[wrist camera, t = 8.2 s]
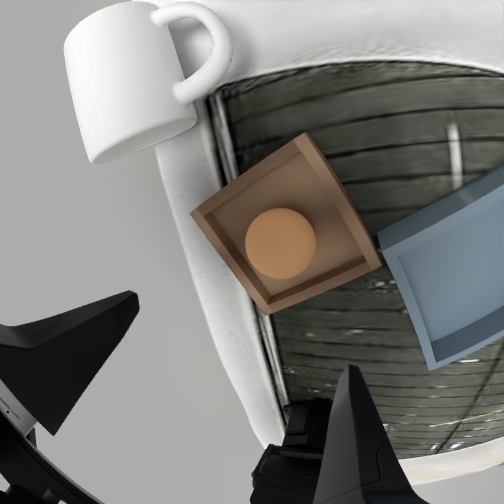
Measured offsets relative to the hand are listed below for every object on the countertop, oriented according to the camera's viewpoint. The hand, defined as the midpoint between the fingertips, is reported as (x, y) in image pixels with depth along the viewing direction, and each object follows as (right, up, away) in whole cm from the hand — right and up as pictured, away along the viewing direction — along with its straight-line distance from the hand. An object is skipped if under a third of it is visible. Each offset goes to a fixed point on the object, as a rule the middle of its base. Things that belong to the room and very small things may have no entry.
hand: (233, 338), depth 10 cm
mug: (-5, +17, +7) cm, 19 cm away
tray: (+3, +5, +10) cm, 12 cm away
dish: (+18, +2, +6) cm, 20 cm away
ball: (+2, +4, +7) cm, 9 cm away
